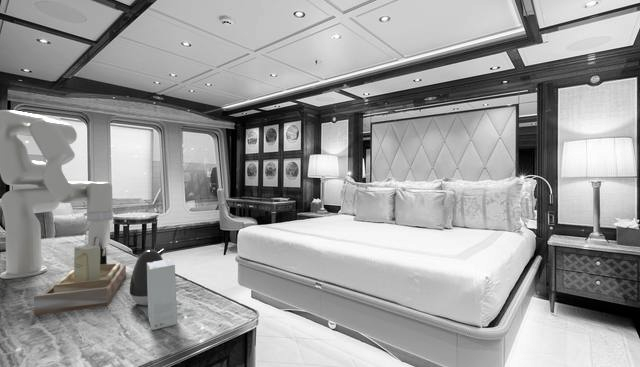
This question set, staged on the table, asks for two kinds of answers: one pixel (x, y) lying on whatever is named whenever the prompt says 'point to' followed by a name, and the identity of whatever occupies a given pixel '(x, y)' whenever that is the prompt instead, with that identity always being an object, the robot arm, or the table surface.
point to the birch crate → (105, 277)
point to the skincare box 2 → (161, 294)
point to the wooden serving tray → (77, 297)
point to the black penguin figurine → (142, 276)
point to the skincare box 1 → (86, 263)
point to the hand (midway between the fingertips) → (100, 266)
